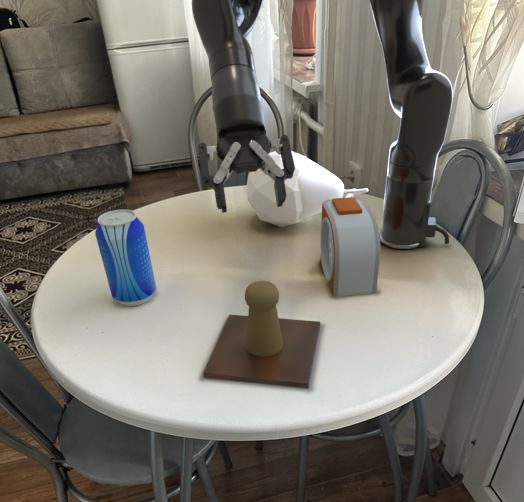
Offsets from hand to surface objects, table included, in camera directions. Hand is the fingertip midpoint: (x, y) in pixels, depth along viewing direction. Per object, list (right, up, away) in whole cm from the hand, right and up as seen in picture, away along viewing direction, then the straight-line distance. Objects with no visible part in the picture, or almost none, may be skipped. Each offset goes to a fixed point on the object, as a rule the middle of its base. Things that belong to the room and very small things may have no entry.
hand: (252, 207), depth 76 cm
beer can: (-23, -11, +20) cm, 33 cm away
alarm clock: (+18, -7, +23) cm, 30 cm away
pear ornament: (+12, +9, +45) cm, 47 cm away
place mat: (+2, -22, +5) cm, 22 cm away
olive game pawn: (+2, -21, +5) cm, 21 cm away
